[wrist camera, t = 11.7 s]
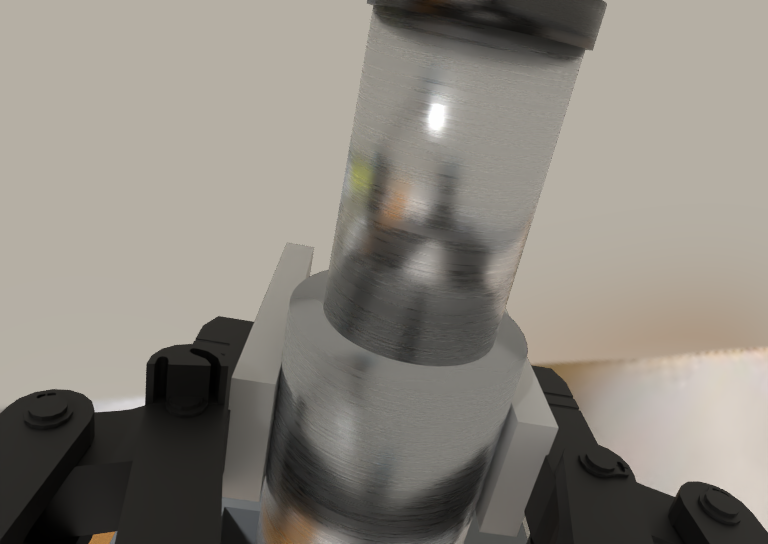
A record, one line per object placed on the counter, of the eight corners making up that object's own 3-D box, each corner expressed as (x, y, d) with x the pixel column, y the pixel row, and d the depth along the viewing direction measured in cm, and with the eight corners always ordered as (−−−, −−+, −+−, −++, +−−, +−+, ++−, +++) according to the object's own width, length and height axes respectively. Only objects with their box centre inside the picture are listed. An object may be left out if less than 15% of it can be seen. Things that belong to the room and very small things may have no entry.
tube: (214, 780, 13) (327, -73, 6) (253, 598, 17) (347, -36, 10) (409, 799, 13) (709, 12, 7) (401, 615, 17) (582, 15, 11)
